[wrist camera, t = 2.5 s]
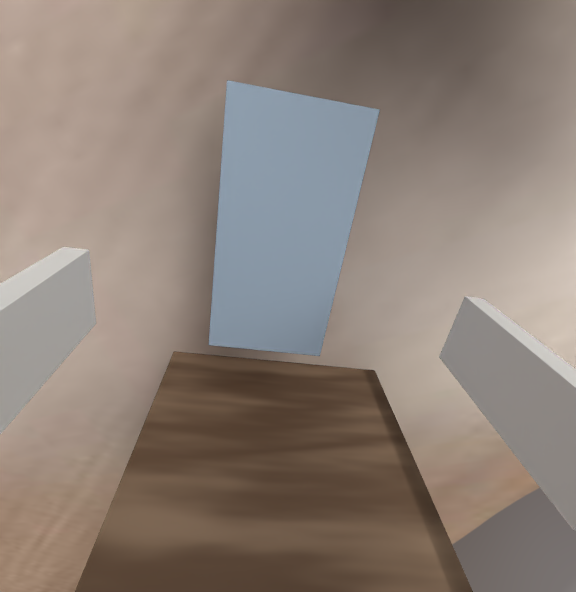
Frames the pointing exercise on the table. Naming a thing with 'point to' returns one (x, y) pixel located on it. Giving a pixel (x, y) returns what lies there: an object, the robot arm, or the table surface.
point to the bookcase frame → (271, 489)
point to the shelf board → (284, 215)
